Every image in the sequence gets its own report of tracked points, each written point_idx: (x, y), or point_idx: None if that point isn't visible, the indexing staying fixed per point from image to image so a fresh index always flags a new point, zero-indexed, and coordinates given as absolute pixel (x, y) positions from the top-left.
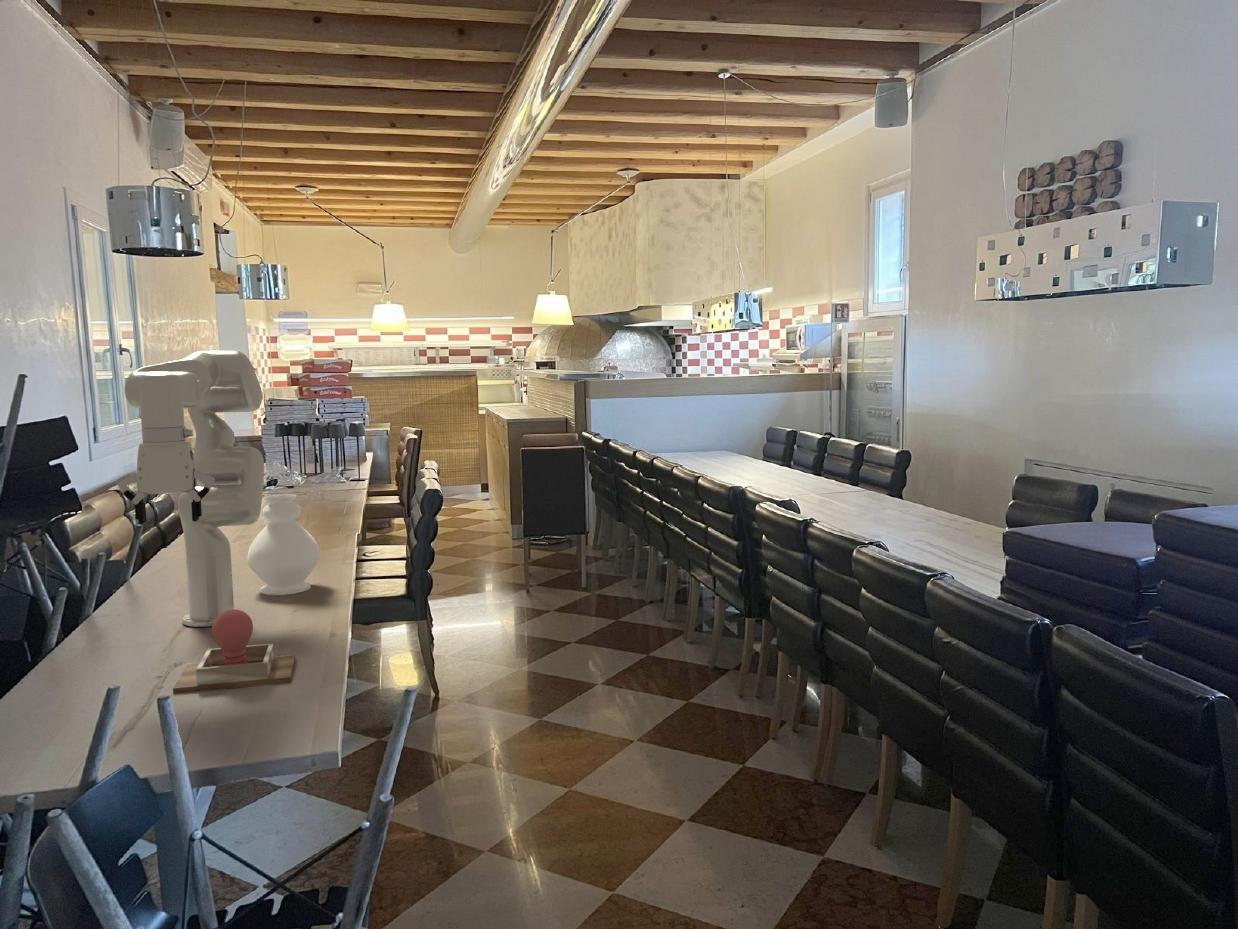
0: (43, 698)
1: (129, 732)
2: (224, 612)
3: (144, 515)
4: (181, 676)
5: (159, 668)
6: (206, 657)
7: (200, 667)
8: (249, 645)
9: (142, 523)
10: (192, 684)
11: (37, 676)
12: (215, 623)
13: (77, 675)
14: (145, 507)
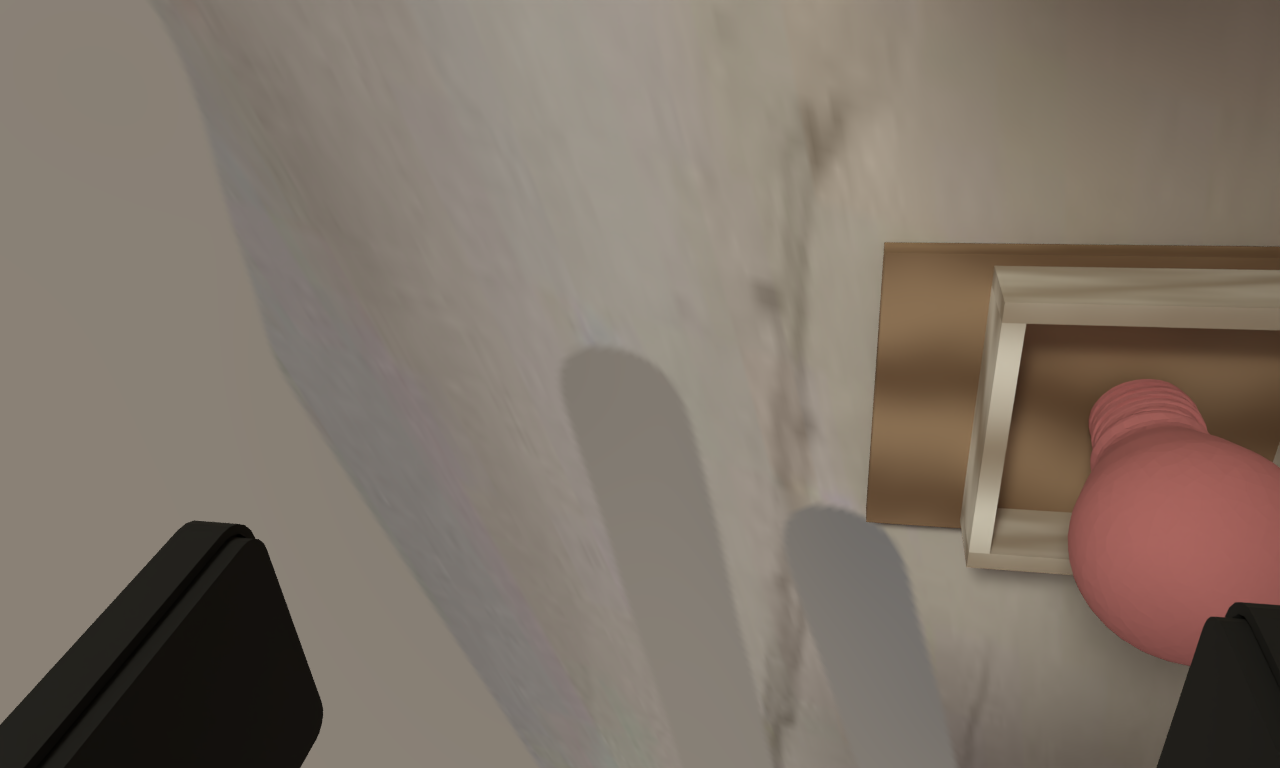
0: (396, 405)
1: (788, 736)
2: (1175, 635)
3: (221, 718)
4: (880, 402)
5: (740, 175)
6: (1004, 433)
7: (984, 550)
8: (1250, 309)
9: (303, 685)
10: (940, 506)
11: (220, 135)
12: (1101, 617)
13: (389, 172)
14: (75, 760)
